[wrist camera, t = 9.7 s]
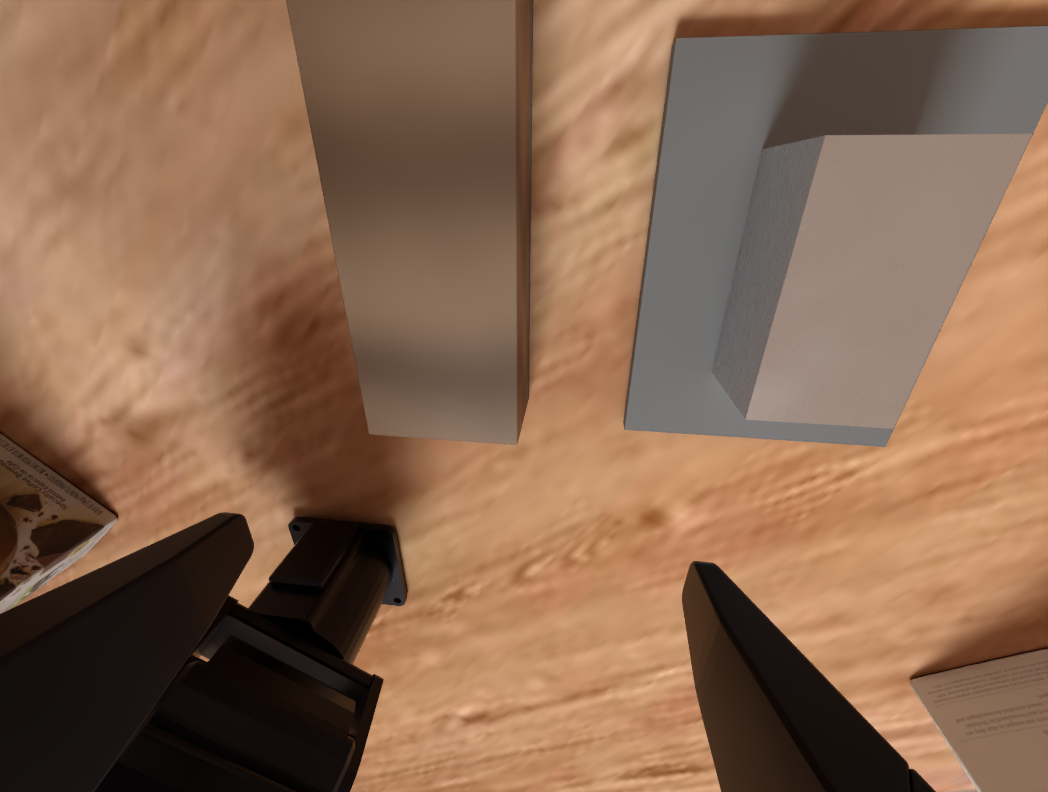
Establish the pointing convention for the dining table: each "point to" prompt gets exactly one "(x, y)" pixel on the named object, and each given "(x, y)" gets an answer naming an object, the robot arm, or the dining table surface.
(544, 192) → the dining table surface
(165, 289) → the dining table surface
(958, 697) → the supplement box
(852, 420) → the light gray block
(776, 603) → the dining table surface
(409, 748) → the dining table surface
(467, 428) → the plane body
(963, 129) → the rubber mat
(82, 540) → the coffee box
